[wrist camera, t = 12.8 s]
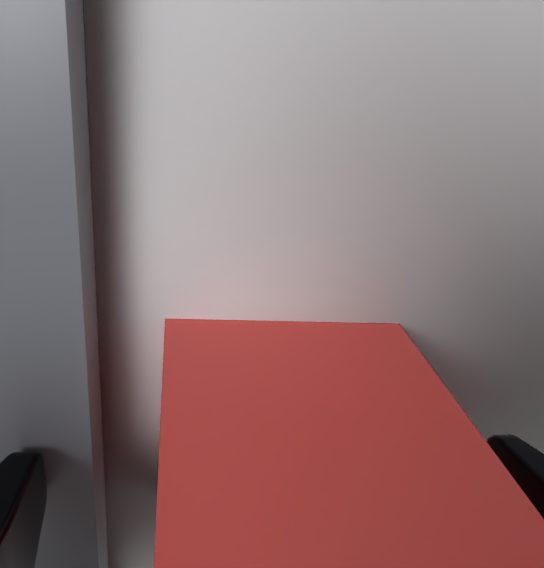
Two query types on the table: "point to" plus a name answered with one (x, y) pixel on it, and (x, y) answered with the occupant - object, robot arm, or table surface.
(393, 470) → the coral foam cube
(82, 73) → the panel
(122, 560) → the table surface
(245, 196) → the table surface
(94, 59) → the table surface
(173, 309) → the table surface
